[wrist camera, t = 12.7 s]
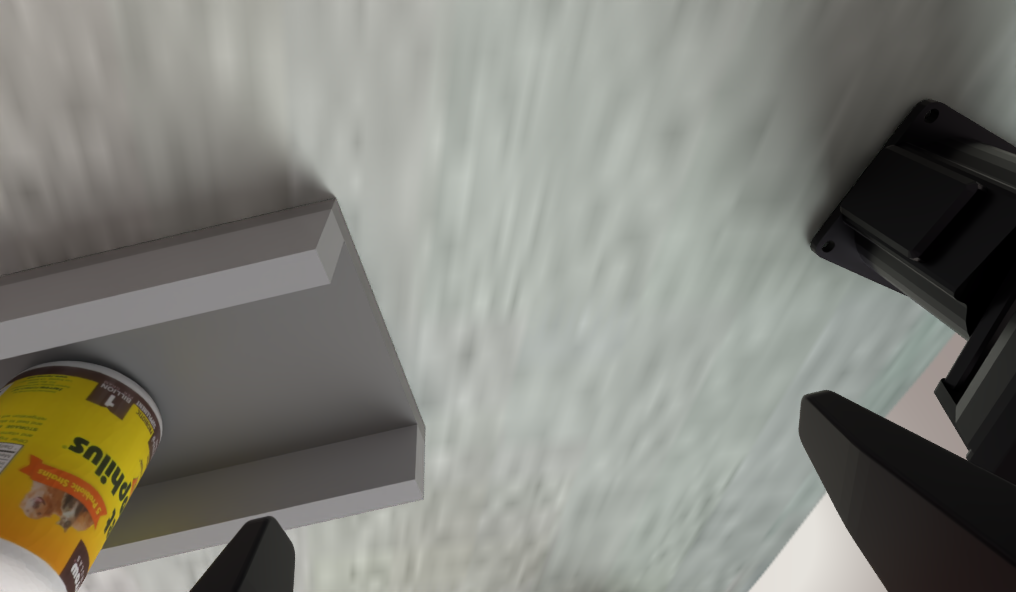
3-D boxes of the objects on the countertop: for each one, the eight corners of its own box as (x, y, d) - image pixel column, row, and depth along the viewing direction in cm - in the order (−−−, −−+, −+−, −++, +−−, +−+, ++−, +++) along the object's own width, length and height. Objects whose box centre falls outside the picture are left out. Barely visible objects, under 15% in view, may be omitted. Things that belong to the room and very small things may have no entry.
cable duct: (335, 197, 20) (315, 249, 17) (425, 427, 26) (423, 499, 23) (-313, 349, 21) (-460, 429, 17) (-80, 541, 27) (-155, 628, 23)
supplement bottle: (185, 456, 24) (45, 739, 16) (43, 463, 24) (-183, 761, 15) (146, 348, 22) (-52, 624, 13) (-17, 354, 21) (-339, 646, 12)
